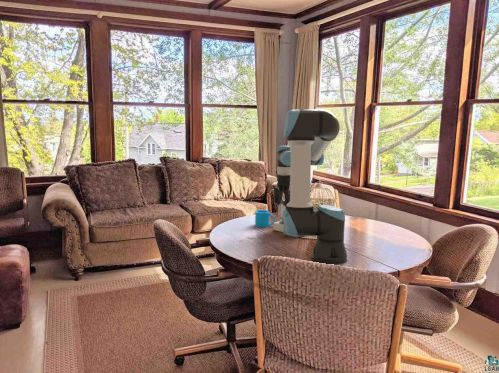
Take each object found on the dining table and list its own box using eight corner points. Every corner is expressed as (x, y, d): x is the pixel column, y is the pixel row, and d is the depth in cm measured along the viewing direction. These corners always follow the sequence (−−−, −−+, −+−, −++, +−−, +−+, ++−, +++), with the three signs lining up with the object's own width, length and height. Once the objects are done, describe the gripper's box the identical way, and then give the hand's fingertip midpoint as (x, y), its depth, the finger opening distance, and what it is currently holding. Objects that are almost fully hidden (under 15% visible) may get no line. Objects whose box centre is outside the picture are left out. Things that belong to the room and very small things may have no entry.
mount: (291, 229, 228) (291, 222, 227) (283, 232, 223) (284, 225, 222) (281, 227, 232) (281, 220, 232) (273, 229, 227) (273, 222, 227)
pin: (288, 226, 227) (288, 200, 225) (283, 228, 224) (284, 201, 222) (282, 225, 230) (282, 199, 228) (277, 227, 227) (278, 200, 224)
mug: (253, 226, 235) (253, 212, 233) (258, 223, 242) (258, 209, 241) (273, 228, 230) (273, 214, 229) (277, 225, 238) (277, 211, 237)
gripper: (300, 175, 220) (299, 217, 223) (276, 172, 231) (275, 213, 234) (291, 176, 214) (290, 220, 218) (267, 173, 225) (267, 215, 229)
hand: (283, 216), depth 226 cm, fingers closed on pin, 3 cm apart
